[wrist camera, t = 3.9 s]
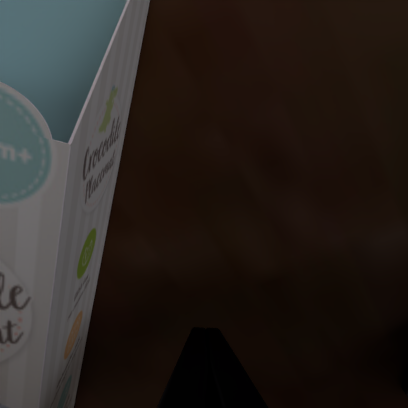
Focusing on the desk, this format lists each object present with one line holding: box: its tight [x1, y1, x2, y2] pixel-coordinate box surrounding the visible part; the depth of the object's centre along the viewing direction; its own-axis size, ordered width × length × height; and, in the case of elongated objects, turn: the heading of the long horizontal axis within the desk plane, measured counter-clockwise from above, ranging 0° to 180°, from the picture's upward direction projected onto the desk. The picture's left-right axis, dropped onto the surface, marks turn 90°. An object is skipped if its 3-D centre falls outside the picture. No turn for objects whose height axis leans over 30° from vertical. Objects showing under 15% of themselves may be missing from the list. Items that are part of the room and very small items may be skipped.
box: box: [0, 0, 150, 408], centre depth 9 cm, size 4×4×28 cm
